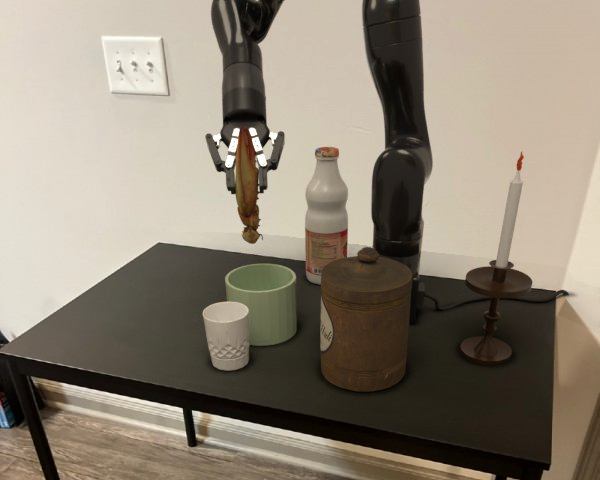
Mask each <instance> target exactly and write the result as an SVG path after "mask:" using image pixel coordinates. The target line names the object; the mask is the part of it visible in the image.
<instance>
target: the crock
mask: <svg viewBox="0 0 600 480" xmlns="http://www.w3.org/2000/svg"><path fill="white" fill-rule="evenodd" d="M224 283H225V291H226V292H225V293H226V302H238V303H241V304H244V305H245V306H247V308H248V309H249V346H253V347H265V346H266V347H267V346H273V345H279V344H282V343H284V342H287V341H288V340H290V339H291V338H292V337H294V336H295V335H296V333H297V331H298V301H297V300H298V299H297V298H298V297H297V296H298V295H297V275H296V272H294V270H293V269H291V268H289V267H287V266H284V265H281V264H275V263H252V264H247V265H246V264H245V265H242V266H239V267H236V268H233V269H232V270H230V271H229V272H228V273H227V274H226V275H225V277H224Z"/></svg>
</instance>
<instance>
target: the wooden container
mask: <svg viewBox="0 0 600 480" xmlns="http://www.w3.org/2000/svg"><path fill="white" fill-rule="evenodd" d="M411 290H412V272H411V270H410V269H409V268H408V267H407V266H406V265H404V264H402V263H400V262H398V261H395V260H392V259H388V258H383V257H379V254H378V252H377V251H376V250H374V249H373V247H370V246H363V247H362V248H361V249H360V250H358V251H357V253H356V255H355V256H354V255H353V256H347V257H346V258H341V259H338V260H335V261H332V262H330V263H328V264H327V265H326V266H325V267H324V268H323V269H322V272H321V285H320V325H319V326H320V334H319V335H320V337H319V339H320V372H321V374H322V376H323V377H324V379H325V380H327V382H329V383H330V384H331V385H334V386H336V387H338V388H340V389H344V390H347V391H352V392H359V393H360V392H363V393H367V392H376V391H383V390H386V389H389V388H392V387H394V386H395V385H396V384H399V382H400V381H402V380H403V378H404V377H405V374H406V368H407V357H408V347H409V346H408V345H409V332H410V330H409V329H410V323H409V316H410V300H411Z"/></svg>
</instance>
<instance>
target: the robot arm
mask: <svg viewBox="0 0 600 480" xmlns="http://www.w3.org/2000/svg"><path fill="white" fill-rule="evenodd" d="M285 1H286V0H212V1H211V7H210V20H211V27H212V30H213V33H214V36H215V39H216V42H217V46H218V49H219V52H220V55H221V58H222V59H221V61H222V64H221V65H222V82H221V109H222V110H221V111H222V127H221V129H220V131H219V133H217V134H212V133H206V134H205V142H206V147H207V149H208V152H209V154H210V157H211V160H212V162H213V165H214V168H215V171H216V172H218V173H222V172H223V173H225V186H226V189H227V191H228V192H230V194H231V195H236V194H235V177H236V172H235V171H236V152H237V143H238V134H239V130H240V129H241V127H242V126H244V127H246V128H247V129H248V130H249V131H250V133H251V136H252V140H253V146H254V152H255V160H256V161H257V162H256V165H257V166H258V167H257V168H258V170H259V180H258V184H259V186H258V191H259V192H260V193H259V194H265V191H267V190H268V188H269V186H268V183H269V182H268V173H269V172H270V171H276V170H277V169H278V167H279V164H280V160H281V158H282V153H283V150H284V148H285V147H284V146H285V143H286V142H285V141H286V140H285V139H286V138H285V132H284V131H282V130H280V131H278V132H273V131H270V128H269V127H268V122H267V121H268V120H267V119H268V117H267V96H266V85H265V79H264V66H263V65H264V64H263V53H262V49H261V47H260V45H259V44H260V43H262V42H263V41H265V39H266V38H267V36H268V34H269V32H270V30H271V28H272V25H273V23H274V21H275V19H276V17H277V15H278V14H279V11H280V9H281V8H282V6H283V4H284V2H285ZM361 24H362V25H361V26H362V35H363V44H364V51H365V59H366V63H367V67H368V71H369V74H370V78H371V80H372V83H373V86H374V88H375V91H376V93H377V96H378V99H379V102H380V106H381V110H382V117H383V127H384V128H383V129H384V150H383V151H382V152H381V153H380V154H379V155H378V157H377V158H376V160H375V162H374V164H373V168H372V176H371V198H370V199H371V200H370V203H371V204H370V205H371V206H370V214H371V215H370V216H371V221H372V224H373V225H372V226H373V228H372V229H373V230H372V231H373V232H372V248H373V249H374V250H376V251H377V252H378V254H379V257H383V258H388V259H392V260H395V261H398V262H400V263H402V264H404V265H406V266H407V267H408V268H409V269H410V270H411V272H412V290H411V300H410V316H409V324H415V323H416V317H417V307H418V306H424V302H425V298H428V299H430V300H431V301H433V303H434V307H435V309H436V310H437V311H445V310H449V309H454V308H456V307H459V306H461V305H464V304H466V303H472V302H477V301H482V300H489V299H490V300H491V297H488V296H484V295H479V296H475V297H470V298H465V299H462V300H459V301H457V302H454V303H452V304H450V305H447V306H440V305H439V304H440V301H439V299H438V298H437V297H436V296H434V295H432V294H430V293H427V292H426V289H425V282H420V267H421V257H422V246H423V237H424V227H425V220H424V218H423V203H424V191H425V185H426V184H427V182H428V181H429V179H430V178H431V174H432V172H433V167H434V159H433V151H432V146H431V140H430V136H429V135H430V134H429V129H428V123H427V116H426V109H425V82H424V81H425V74H424V69H425V68H424V44H423V43H424V41H423V40H424V39H423V28H422V12H421V1H420V0H362V4H361ZM244 133H245V132H244ZM245 140H246V137H245ZM269 141H271V146H272V147H273V149H272V151H271V155H270V157H269V158H268V159H266V156H265V154H264V149H263V148H265V146H266V145H267V143H269ZM221 142H222V143H223V144H224V145H225V146H226V148H227V157H226V160H222V158H221V154H220V152H219V149H220V148H221ZM561 294H563V295H564V296H565V297H567V296H570V294H569V292H568V291H567V290H565V289H560V290H557V291H556V292H554V293H552V294H551V295H549V296H547V297H543V298H542V297H541V298H535V297H534V298H533V297H526V296H521V297H516V298H507V299H510V300H516V301H521V302H528V303H546V302H549V301H551V300H553V299H554V298H557V296H559V295H561Z"/></svg>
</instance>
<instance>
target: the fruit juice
mask: <svg viewBox="0 0 600 480" xmlns="http://www.w3.org/2000/svg"><path fill="white" fill-rule="evenodd" d="M339 158H340V150H339V148H337V147H333V146H321V147H317V148H315V150H314V159H315V160H316V162H315V168H314V171H313V174H312V177H311V178H310V180H309V182H308V183H307V185H306V187H305V195H304V196H305V201H306V205H307V209H306V211H305V214H304V215H305V217H304V235H305V236H304V240H305V241H304V242H305V244H304V249H305V250H304V251H305V276H306V280H307V281H309V282H310V283H312V284H314V285H320V286H321V272H322V269H323V268H324V267H325V266H326V265H327V264H328V263H330V262H332V261H335V260H338V259H341V258H346V257H348V244H349V243H348V241H349V240H348V239H349V238H348V237H349V215H348V211H347V207H346V205H347V202H348V199H349V189H348V185H347V184H346V182H345V181H344V180H343V178H342V176H341V173H340V169H339V165H338V163H339V162H338V159H339Z"/></svg>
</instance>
